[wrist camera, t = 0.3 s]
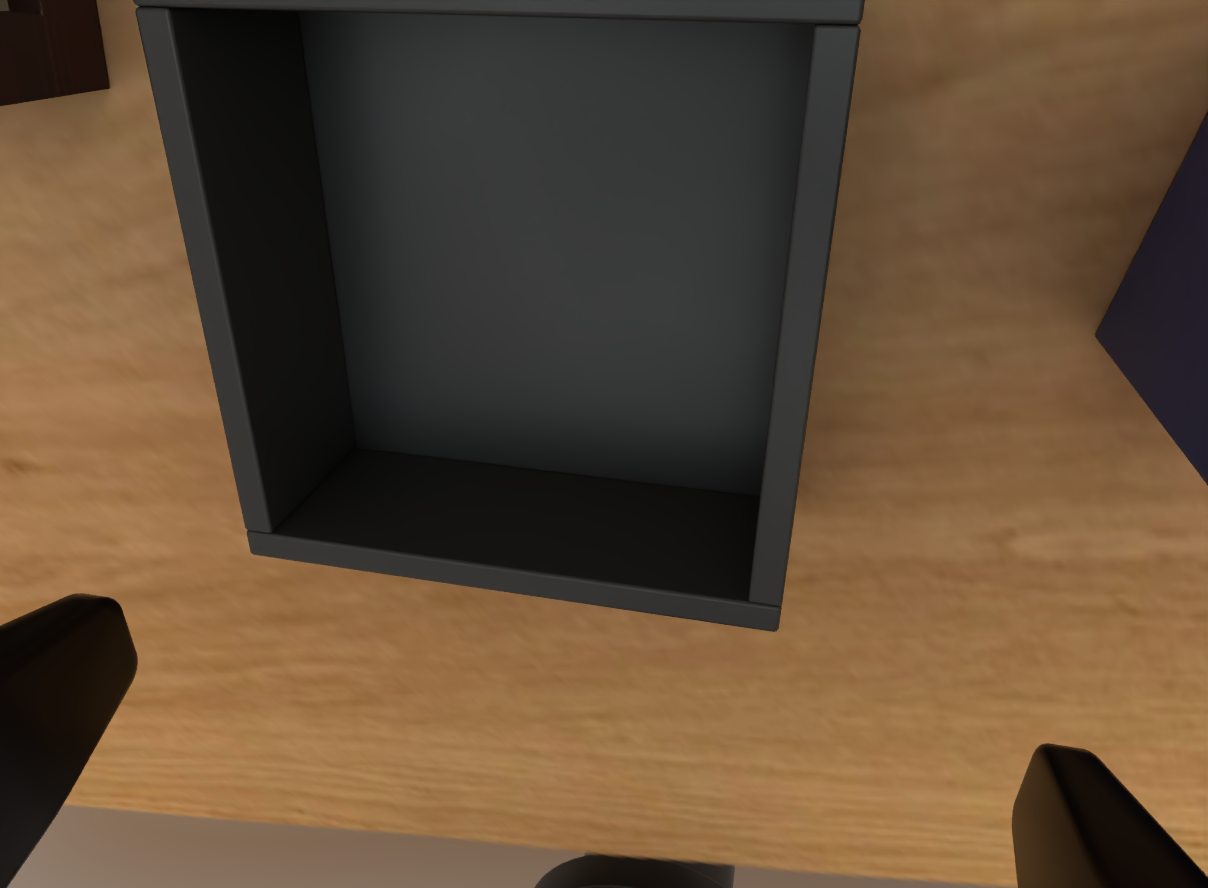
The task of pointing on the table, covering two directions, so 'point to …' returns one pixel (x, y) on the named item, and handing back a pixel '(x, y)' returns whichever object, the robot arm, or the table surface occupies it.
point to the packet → (1170, 311)
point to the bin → (514, 280)
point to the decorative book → (49, 50)
